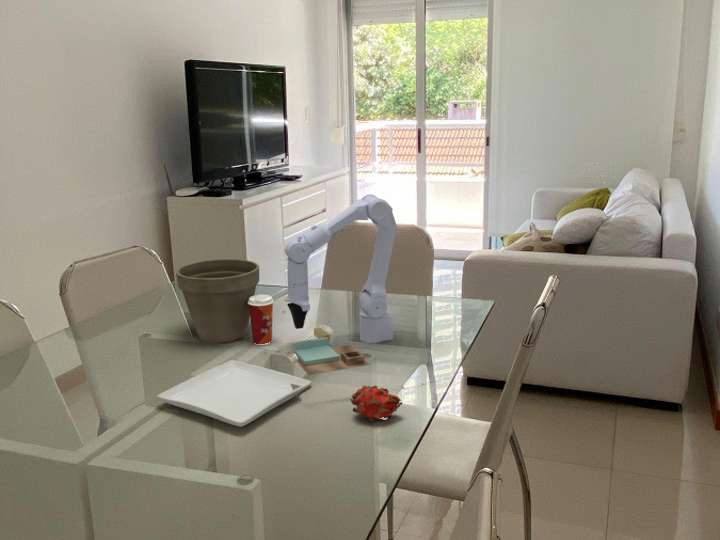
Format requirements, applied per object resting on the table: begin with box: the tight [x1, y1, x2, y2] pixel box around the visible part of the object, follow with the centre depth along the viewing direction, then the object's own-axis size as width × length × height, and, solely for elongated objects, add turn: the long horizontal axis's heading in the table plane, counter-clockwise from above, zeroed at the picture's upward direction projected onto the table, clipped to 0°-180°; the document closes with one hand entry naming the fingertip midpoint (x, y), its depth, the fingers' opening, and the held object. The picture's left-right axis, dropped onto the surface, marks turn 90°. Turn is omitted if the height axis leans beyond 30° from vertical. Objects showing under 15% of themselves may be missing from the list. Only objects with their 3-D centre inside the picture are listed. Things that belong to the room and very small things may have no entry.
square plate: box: [156, 359, 313, 428], centre depth 172 cm, size 27×27×4 cm
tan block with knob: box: [313, 327, 331, 342], centre depth 205 cm, size 7×2×5 cm, turn 28°
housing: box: [296, 344, 372, 376], centre depth 193 cm, size 18×16×4 cm
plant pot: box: [175, 258, 260, 344], centre depth 214 cm, size 25×25×22 cm
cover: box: [293, 337, 340, 365], centre depth 194 cm, size 10×10×3 cm
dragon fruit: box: [350, 385, 403, 422], centre depth 162 cm, size 8×8×12 cm
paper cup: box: [248, 294, 275, 344], centre depth 209 cm, size 8×8×14 cm
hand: (299, 327), depth 201 cm, fingers closed
